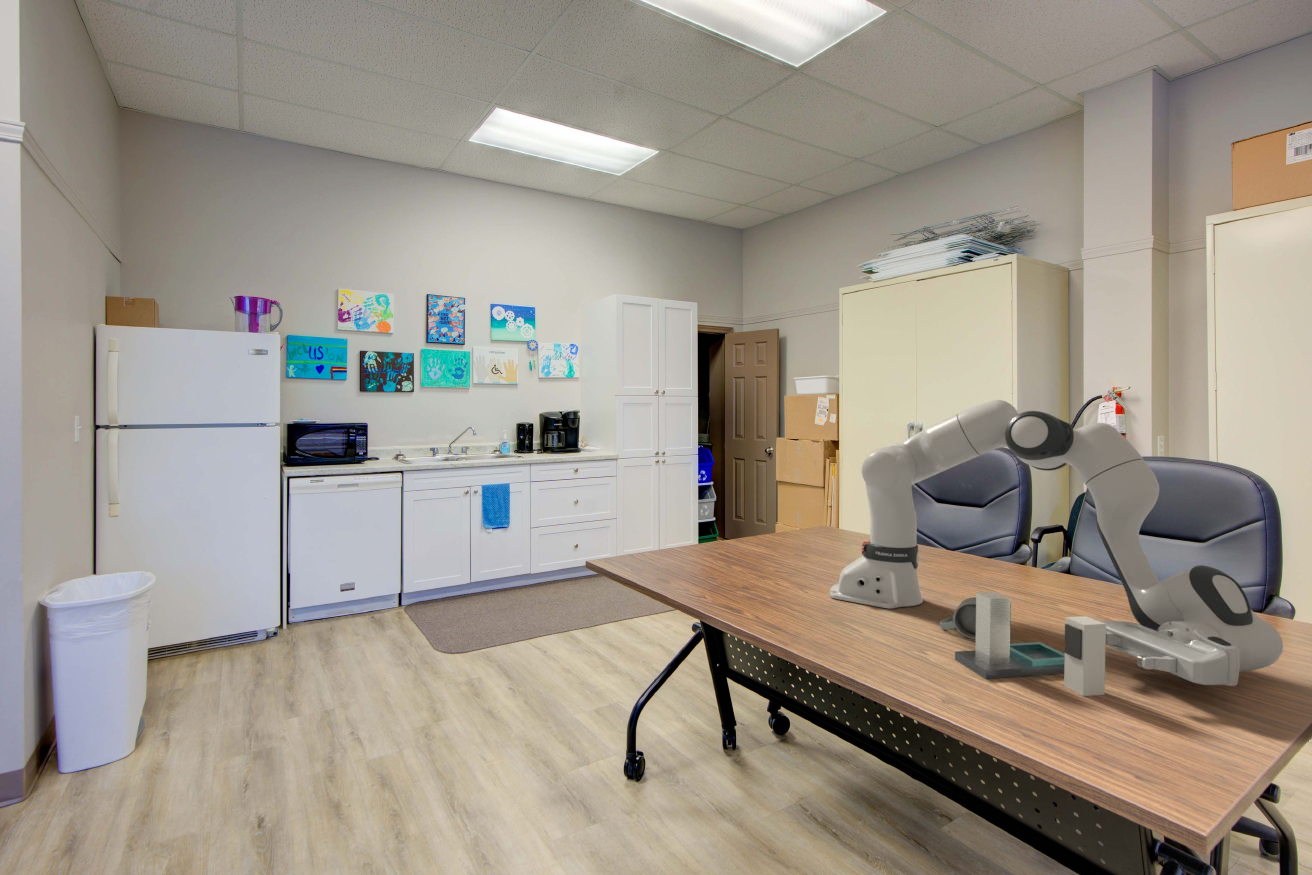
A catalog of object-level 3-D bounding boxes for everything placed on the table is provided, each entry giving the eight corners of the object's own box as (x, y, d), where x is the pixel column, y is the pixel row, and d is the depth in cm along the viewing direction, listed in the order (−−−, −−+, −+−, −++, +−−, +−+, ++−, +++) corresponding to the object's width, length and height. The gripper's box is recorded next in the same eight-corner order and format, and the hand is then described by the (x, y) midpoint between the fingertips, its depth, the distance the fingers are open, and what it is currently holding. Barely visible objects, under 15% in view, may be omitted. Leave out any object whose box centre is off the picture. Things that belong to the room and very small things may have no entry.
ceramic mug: (995, 630, 135) (995, 595, 135) (993, 642, 128) (993, 605, 128) (942, 623, 140) (942, 589, 140) (937, 634, 133) (937, 598, 133)
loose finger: (1080, 696, 103) (1082, 625, 103) (1062, 685, 107) (1063, 617, 107) (1104, 694, 104) (1105, 623, 104) (1084, 684, 108) (1086, 616, 108)
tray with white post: (985, 678, 110) (986, 603, 110) (954, 659, 119) (955, 589, 119) (1077, 672, 113) (1078, 599, 112) (1040, 653, 122) (1041, 585, 121)
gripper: (1133, 610, 118) (1068, 613, 117) (1249, 651, 98) (1172, 655, 96) (1132, 643, 119) (1067, 646, 117) (1248, 690, 98) (1171, 695, 97)
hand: (1115, 651), depth 106 cm, fingers open, 8 cm apart
